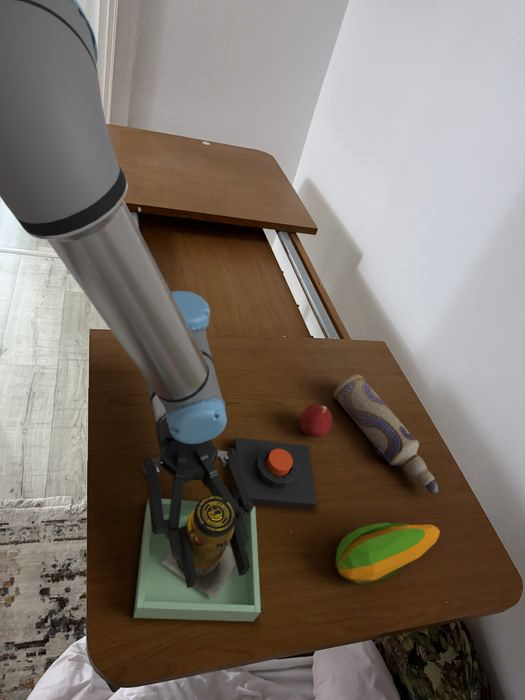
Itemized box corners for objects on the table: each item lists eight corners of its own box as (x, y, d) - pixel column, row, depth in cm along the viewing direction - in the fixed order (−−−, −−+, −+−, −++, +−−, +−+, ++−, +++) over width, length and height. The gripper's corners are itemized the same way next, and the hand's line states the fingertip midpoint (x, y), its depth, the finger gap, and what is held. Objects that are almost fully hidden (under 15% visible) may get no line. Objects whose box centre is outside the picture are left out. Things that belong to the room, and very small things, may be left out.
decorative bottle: (325, 400, 100) (338, 377, 95) (352, 390, 104) (365, 368, 100) (413, 510, 87) (433, 490, 82) (440, 494, 91) (460, 474, 87)
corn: (336, 529, 71) (438, 495, 81) (316, 549, 77) (413, 515, 86) (362, 582, 67) (465, 540, 77) (338, 599, 73) (437, 558, 82)
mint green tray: (133, 618, 63) (136, 607, 61) (145, 510, 74) (148, 497, 71) (253, 622, 67) (260, 612, 64) (248, 518, 77) (255, 506, 75)
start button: (266, 474, 79) (269, 468, 78) (265, 453, 82) (268, 447, 81) (290, 477, 80) (294, 471, 79) (288, 456, 83) (291, 450, 82)
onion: (296, 416, 95) (311, 388, 89) (325, 426, 95) (341, 399, 90) (291, 440, 90) (306, 412, 85) (321, 450, 91) (338, 424, 85)
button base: (233, 504, 78) (240, 491, 76) (232, 444, 86) (238, 431, 83) (312, 510, 81) (321, 498, 79) (304, 453, 89) (311, 440, 86)
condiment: (191, 522, 73) (208, 478, 65) (240, 555, 71) (264, 515, 63) (161, 563, 68) (175, 522, 60) (214, 600, 66) (235, 563, 58)
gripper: (117, 413, 70) (144, 582, 55) (245, 403, 77) (298, 548, 63) (113, 444, 75) (136, 606, 60) (233, 431, 82) (280, 572, 68)
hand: (219, 576), depth 62 cm, fingers closed on condiment, 6 cm apart
